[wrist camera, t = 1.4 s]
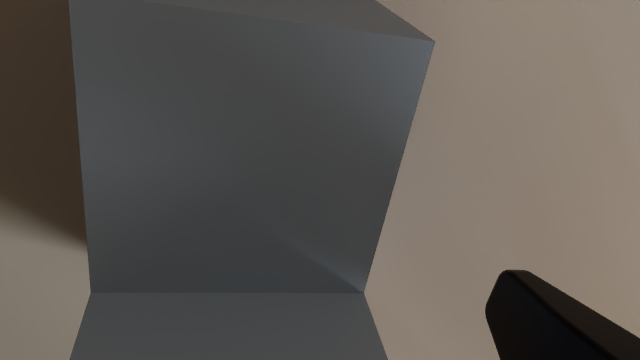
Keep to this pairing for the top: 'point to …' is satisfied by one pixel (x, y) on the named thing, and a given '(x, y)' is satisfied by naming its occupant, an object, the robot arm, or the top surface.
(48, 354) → the top surface
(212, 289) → the grey stepped block
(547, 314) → the robot arm
